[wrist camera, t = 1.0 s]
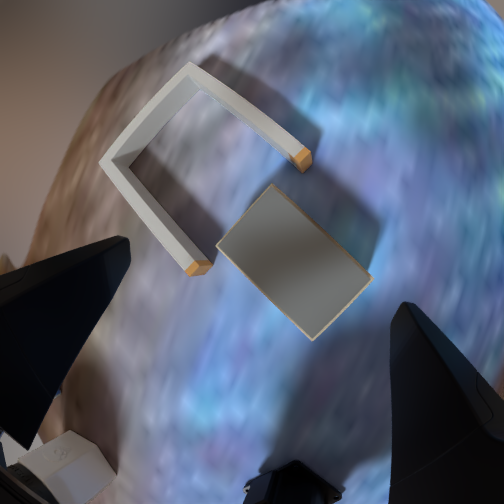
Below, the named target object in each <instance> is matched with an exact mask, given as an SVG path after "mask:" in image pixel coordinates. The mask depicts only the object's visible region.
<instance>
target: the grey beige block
mask: <svg viewBox="0 0 504 504" xmlns="http://www.w3.org/2000/svg"><path fill="white" fill-rule="evenodd" d="M216 247H217V248H218V249H219V250H220V251H221V252H222V253H223V254H224V255H225V256H226V257H227V258H228V259H229V260H230V261H231V262H232V263H233V264H234V265H235V266H236V267H237V268H238V269H239V270H240V271H241V272H242V273H243V274H244V275H245V276H246V277H247V278H248V279H249V280H250V281H251V282H252V283H253V284H254V285H255V286H256V287H257V288H258V289H259V290H260V291H261V292H262V293H263V294H264V295H265V296H266V297H267V298H268V299H269V300H270V301H271V302H272V303H273V304H274V305H275V306H276V307H277V308H278V309H279V310H280V311H281V312H282V313H283V314H284V315H285V316H286V317H287V318H289V319H290V320H291V321H292V322H293V323H294V324H295V325H296V326H297V327H298V328H299V329H300V330H301V331H302V332H303V333H304V334H305V335H306V336H307V337H308V338H309V339H310V340H311V341H312V342H313V341H314V340H315V339H316V338H317V337H318V336H319V335H320V334H321V333H322V332H323V331H324V330H325V329H326V328H327V327H328V326H329V325H330V324H331V323H332V322H333V321H334V320H335V319H336V318H337V317H338V316H339V315H340V314H341V313H342V312H343V311H344V310H345V309H346V308H347V307H348V306H349V305H350V304H351V303H352V302H353V301H354V300H355V299H356V298H357V297H358V296H359V295H360V294H361V293H362V292H363V291H364V289H365V288H366V287H367V286H368V285H369V284H370V283H371V282H372V281H373V280H374V278H373V277H372V276H371V275H370V274H369V273H368V272H367V271H366V270H365V269H364V268H363V267H362V266H361V265H360V264H359V263H358V262H357V261H356V260H355V259H354V258H353V257H352V256H351V255H350V254H349V253H348V252H347V251H346V250H345V249H344V248H343V247H342V246H341V245H340V244H339V243H338V242H337V241H335V240H334V239H333V238H332V237H331V236H330V235H329V234H328V233H327V232H326V231H325V230H324V229H323V228H322V227H321V226H319V225H318V224H317V223H316V222H315V221H314V220H313V219H312V218H311V217H310V216H309V215H307V214H306V213H305V212H304V211H303V210H302V209H301V208H300V207H299V206H298V205H296V204H295V203H294V202H293V201H292V200H291V199H290V198H289V197H287V196H286V195H285V194H284V193H283V192H282V191H281V190H279V189H278V188H277V187H276V186H275V185H274V184H273V183H271V185H270V186H269V187H268V188H267V189H266V190H265V191H264V192H263V193H262V194H261V195H260V197H259V198H258V199H257V200H256V201H255V202H254V203H253V204H252V205H251V206H250V208H249V209H248V210H247V211H246V212H245V213H244V214H243V215H242V216H241V218H240V219H239V220H238V221H237V222H236V223H235V224H234V225H233V227H232V228H231V229H230V230H229V231H228V232H227V233H226V234H225V236H224V237H223V238H222V239H221V240H220V241H219V242H218V243H217V245H216Z"/></svg>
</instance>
